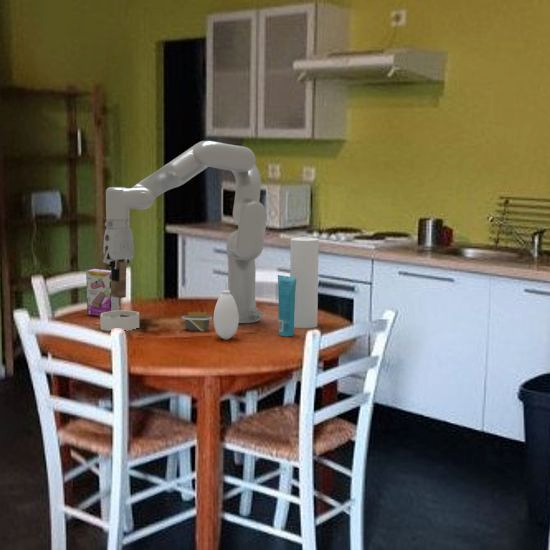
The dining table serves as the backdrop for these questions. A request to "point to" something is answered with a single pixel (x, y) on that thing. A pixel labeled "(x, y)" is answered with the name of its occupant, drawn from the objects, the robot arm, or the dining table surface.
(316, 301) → the cylinder container
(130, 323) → the grey round dish
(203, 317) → the grey basket
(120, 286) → the brown rectangular block
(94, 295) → the candy bar box
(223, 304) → the sauce bottle
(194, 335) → the dining table surface
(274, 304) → the dining table surface
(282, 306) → the tube
